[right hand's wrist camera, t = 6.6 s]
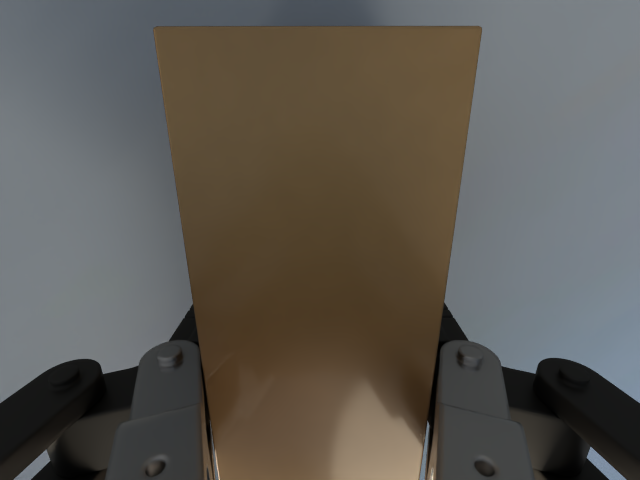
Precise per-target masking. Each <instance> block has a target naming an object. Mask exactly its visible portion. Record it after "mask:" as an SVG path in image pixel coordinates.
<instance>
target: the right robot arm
mask: <svg viewBox="0 0 640 480" xmlns="http://www.w3.org/2000/svg"><path fill="white" fill-rule="evenodd" d="M428 422H429V425H430V426H429V433H428V445H427V457H426V470H425V480H609V479H608V478H607V477H606V476H605V475H604V474H603V473H602V472H601V471H600V470H599V469H597V468H596V467H595V466H594V465H593V464H592V463H591V462H590V461H589V460H588V459H587V455H588V452H589V449H590V447H592V448H593V449H594V450H595V451H596V452H597V453H599V454H600V455H601V456H602V457H603V458H604V459H605V460H606V461H607V462H608V463H609V464H610V465H612V466H613V467H614V468H615V469H616V470H617V471H618V472H619V473H620V474H621V475H622V476H623V477H625V478H626V479H627V480H640V403H639V402H637V401H636V400H634V399H633V398H631V397H630V396H629V395H627V394H626V393H624V392H623V391H622V390H620V389H619V388H617V387H616V386H615V385H613V384H612V383H610V382H609V381H608V380H606V379H605V378H603V377H602V376H601V375H599V374H598V373H596V372H595V371H593V370H592V369H590V368H588V367H586V366H584V365H582V364H579V363H577V362H574V361H570V360H566V359H561V358H548V359H544V360H542V361H541V362H540V363H539V364H538V367H537V371H536V374H534V373H529V372H524V371H520V370H515V369H510V368H506V367H503V366H501V363H500V360H499V358H498V357H497V356H496V354H494V353H493V352H492V351H491V350H489V349H488V348H486V347H484V346H482V345H480V344H478V343H475V342H471V341H468V339H467V337H466V336H465V334H464V333H463V331H462V330H461V328H460V326H459V325H458V323H457V322H456V320H455V319H454V318H453V315H452V314H451V312H450V311H449V310H448V308H447V306H446V305H445V303H444V306H443V313H442V320H441V327H440V335H439V342H438V349H437V356H436V363H435V370H434V378H433V385H432V392H431V399H430V406H429V413H428ZM46 449H47V452H48V455H49V457H50V460H51V461H50V462H49V463H48V464H47V465H46V466H45V467H44V468H43V469H41V470H40V471H39V472H38V473H37V474H36V475H35V476H34V477H33V478H32V479H31V480H215V470H214V458H213V445H212V433H211V426H210V416H209V409H208V402H207V395H206V388H205V381H204V374H203V368H202V361H201V354H200V347H199V340H198V333H197V326H196V319H195V313H194V306H193V305H192V306H191V308H190V310H189V311H188V312H187V314H186V315H185V318H183V320H182V322H181V323H180V325H179V326H178V328H177V329H176V331H175V332H174V334H173V335H172V337H171V339H170V340H169V342H165V343H162V344H160V345H158V346H156V347H154V348H152V349H151V350H149V351H148V352H147V353H145V354H144V356H143V357H142V358H141V360H140V362H139V366H136V367H133V368H129V369H125V370H120V371H116V372H111V373H106V374H103V373H102V369H101V366H100V364H99V363H98V362H96V361H94V360H91V359H78V360H72V361H68V362H65V363H62V364H59V365H57V366H55V367H53V368H51V369H49V370H47V371H45V372H44V373H42V374H41V375H39V376H38V377H37V378H35V379H34V380H32V381H31V382H30V383H28V384H27V385H25V386H24V387H23V388H21V389H20V390H18V391H17V392H16V393H14V394H13V395H11V396H10V397H9V398H7V399H6V400H4V401H3V402H1V403H0V480H13V479H14V478H15V477H17V476H18V475H19V474H20V473H21V472H22V471H23V470H24V469H25V468H26V467H27V466H28V465H30V464H31V463H32V462H33V461H34V460H35V459H36V458H37V457H38V456H39V455H40V454H41V453H43V452H44V451H45V450H46Z"/></svg>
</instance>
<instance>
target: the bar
mask: <svg viewBox="0 0 640 480" xmlns="http://www.w3.org/2000/svg"><path fill="white" fill-rule="evenodd" d="M153 31H154V38H155V45H156V52H157V59H158V66H159V72H160V79H161V86H162V93H163V100H164V107H165V114H166V121H167V127H168V134H169V141H170V148H171V155H172V162H173V169H174V175H175V182H176V189H177V196H178V203H179V210H180V217H181V223H182V230H183V237H184V244H185V251H186V258H187V265H188V271H189V278H190V285H191V292H192V299H193V306H194V313H195V319H196V326H197V333H198V340H199V347H200V354H201V361H202V368H203V374H204V381H205V388H206V395H207V402H208V409H209V416H210V422H211V429H212V436H213V443H214V450H215V457H216V464H217V470H218V477H219V480H419V478H420V471H421V464H422V456H423V449H424V442H425V435H426V428H427V421H428V413H429V406H430V399H431V392H432V385H433V378H434V370H435V363H436V356H437V349H438V342H439V335H440V327H441V320H442V313H443V306H444V299H445V291H446V284H447V277H448V270H449V263H450V256H451V248H452V241H453V234H454V227H455V220H456V213H457V205H458V198H459V191H460V184H461V177H462V170H463V162H464V155H465V148H466V141H467V134H468V127H469V119H470V112H471V105H472V98H473V91H474V84H475V76H476V69H477V62H478V55H479V48H480V41H481V33H482V27H480V26H157V27H154V30H153Z"/></svg>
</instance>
